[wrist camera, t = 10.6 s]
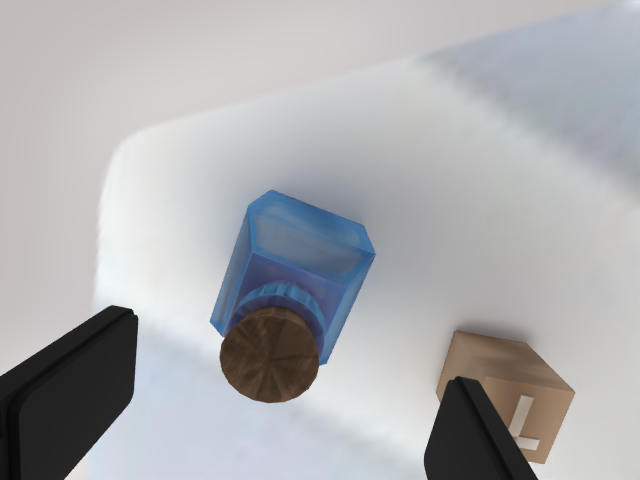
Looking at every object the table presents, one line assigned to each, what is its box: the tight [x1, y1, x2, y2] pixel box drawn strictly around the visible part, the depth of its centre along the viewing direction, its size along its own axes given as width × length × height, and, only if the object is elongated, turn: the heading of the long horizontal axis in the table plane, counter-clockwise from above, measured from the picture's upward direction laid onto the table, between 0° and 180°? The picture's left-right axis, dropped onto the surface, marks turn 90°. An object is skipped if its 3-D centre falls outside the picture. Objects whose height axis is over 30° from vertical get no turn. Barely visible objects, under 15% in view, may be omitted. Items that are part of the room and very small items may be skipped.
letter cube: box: [436, 331, 575, 464], centre depth 22 cm, size 5×5×5 cm
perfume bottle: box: [210, 190, 376, 403], centre depth 17 cm, size 6×6×12 cm
